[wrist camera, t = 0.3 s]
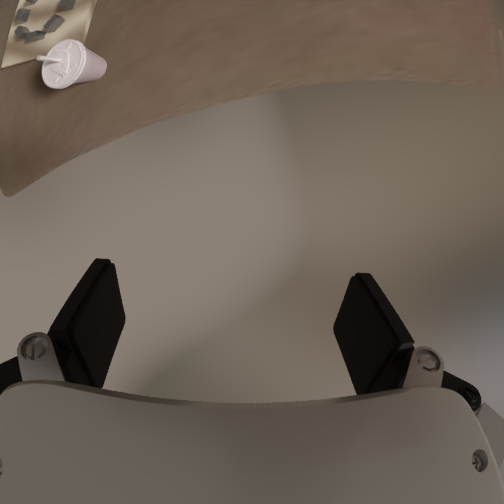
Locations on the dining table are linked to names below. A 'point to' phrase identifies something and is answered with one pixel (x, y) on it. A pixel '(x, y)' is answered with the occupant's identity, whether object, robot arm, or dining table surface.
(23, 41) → the socket plate
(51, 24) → the grey blocks
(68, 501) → the robot arm
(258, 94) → the dining table surface
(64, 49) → the smoothie
